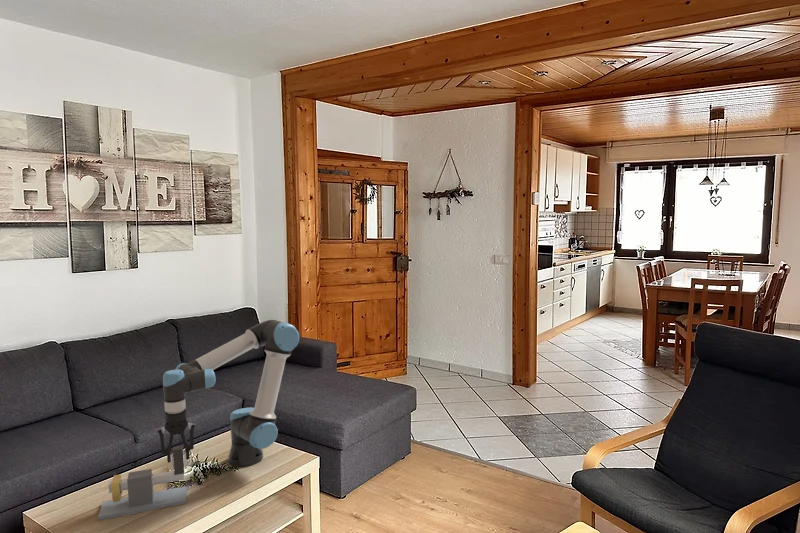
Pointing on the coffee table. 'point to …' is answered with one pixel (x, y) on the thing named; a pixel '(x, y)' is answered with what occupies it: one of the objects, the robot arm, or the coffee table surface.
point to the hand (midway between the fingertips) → (179, 468)
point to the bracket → (142, 497)
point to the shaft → (165, 476)
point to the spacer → (116, 488)
